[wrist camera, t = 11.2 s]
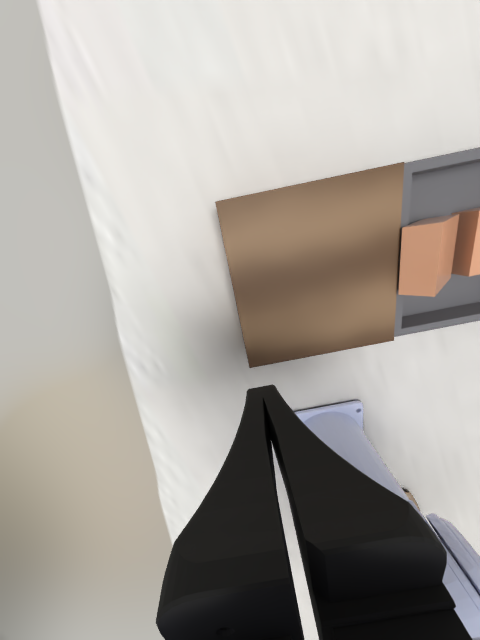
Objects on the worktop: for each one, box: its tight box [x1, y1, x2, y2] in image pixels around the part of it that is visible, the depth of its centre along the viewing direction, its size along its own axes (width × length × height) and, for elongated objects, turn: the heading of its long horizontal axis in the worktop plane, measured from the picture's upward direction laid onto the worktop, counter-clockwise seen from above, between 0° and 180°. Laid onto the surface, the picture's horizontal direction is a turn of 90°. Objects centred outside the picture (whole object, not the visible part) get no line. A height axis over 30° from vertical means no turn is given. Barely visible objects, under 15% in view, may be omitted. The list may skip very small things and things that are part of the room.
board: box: [215, 162, 404, 368], centre depth 17 cm, size 12×12×3 cm
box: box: [394, 147, 480, 337], centre depth 17 cm, size 12×11×2 cm
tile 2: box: [398, 214, 459, 297], centre depth 16 cm, size 4×4×2 cm
